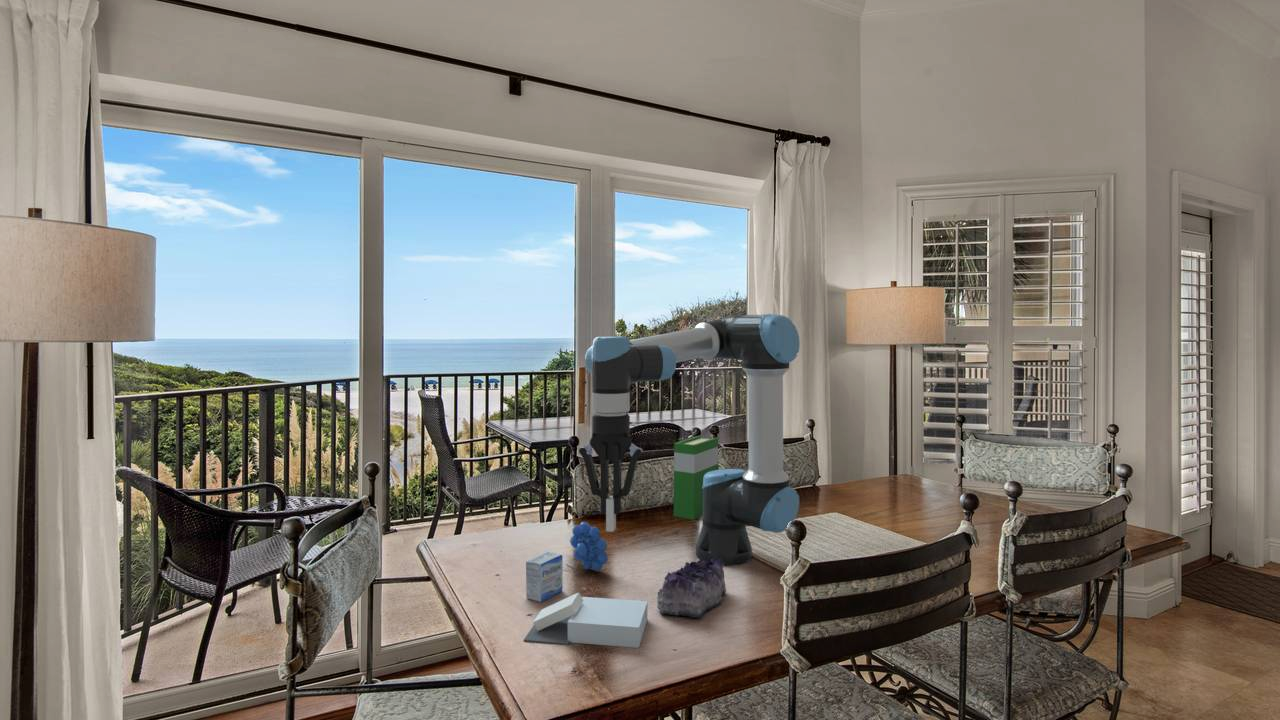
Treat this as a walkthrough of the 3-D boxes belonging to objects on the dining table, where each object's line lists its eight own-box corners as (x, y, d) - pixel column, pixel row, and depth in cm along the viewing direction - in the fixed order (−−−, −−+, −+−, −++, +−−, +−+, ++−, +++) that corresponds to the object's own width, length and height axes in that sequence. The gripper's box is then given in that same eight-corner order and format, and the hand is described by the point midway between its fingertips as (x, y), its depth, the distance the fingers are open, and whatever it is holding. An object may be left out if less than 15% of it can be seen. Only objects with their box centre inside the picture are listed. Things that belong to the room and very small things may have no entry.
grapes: (559, 569, 163) (559, 522, 163) (576, 561, 169) (576, 516, 168) (596, 580, 157) (596, 531, 156) (612, 571, 162) (613, 524, 162)
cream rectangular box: (583, 600, 134) (578, 592, 134) (576, 613, 128) (571, 604, 128) (546, 618, 135) (541, 609, 135) (537, 631, 129) (532, 622, 129)
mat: (585, 613, 138) (585, 612, 138) (568, 644, 124) (568, 643, 124) (544, 610, 140) (544, 608, 140) (523, 641, 126) (523, 639, 126)
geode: (691, 583, 156) (697, 543, 155) (734, 601, 150) (741, 559, 149) (645, 610, 139) (652, 565, 138) (692, 631, 133) (699, 584, 132)
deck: (647, 620, 135) (647, 601, 135) (638, 647, 123) (639, 627, 123) (582, 615, 137) (582, 596, 137) (567, 642, 126) (567, 622, 125)
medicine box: (540, 603, 143) (540, 564, 143) (525, 598, 146) (525, 560, 145) (563, 591, 150) (563, 554, 150) (548, 586, 152) (548, 550, 152)
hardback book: (697, 503, 226) (698, 435, 225) (717, 507, 222) (718, 437, 221) (673, 516, 211) (674, 443, 210) (693, 519, 207) (694, 445, 206)
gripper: (645, 411, 132) (645, 525, 134) (583, 410, 134) (583, 522, 135) (640, 416, 125) (640, 536, 126) (574, 415, 127) (575, 533, 128)
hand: (611, 529), depth 131 cm, fingers closed
